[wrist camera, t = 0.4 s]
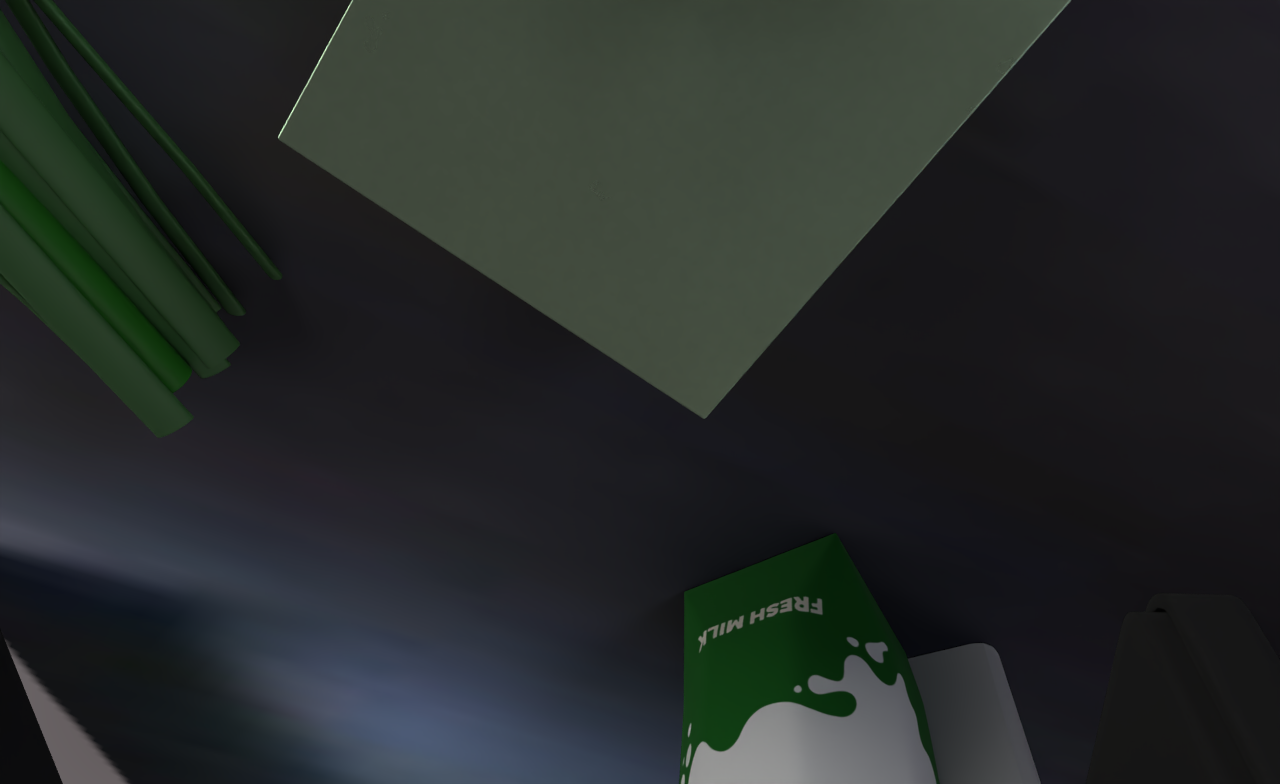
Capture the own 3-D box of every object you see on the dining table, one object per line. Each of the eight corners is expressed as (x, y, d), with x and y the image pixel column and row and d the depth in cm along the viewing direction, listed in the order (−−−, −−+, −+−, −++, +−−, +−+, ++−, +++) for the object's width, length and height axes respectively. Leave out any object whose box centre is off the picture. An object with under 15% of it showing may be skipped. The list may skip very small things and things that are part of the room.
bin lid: (687, -608, 20) (673, -715, 15) (1188, -152, 22) (1294, -135, 18) (288, 129, 27) (202, 196, 23) (705, 405, 30) (698, 511, 25)
